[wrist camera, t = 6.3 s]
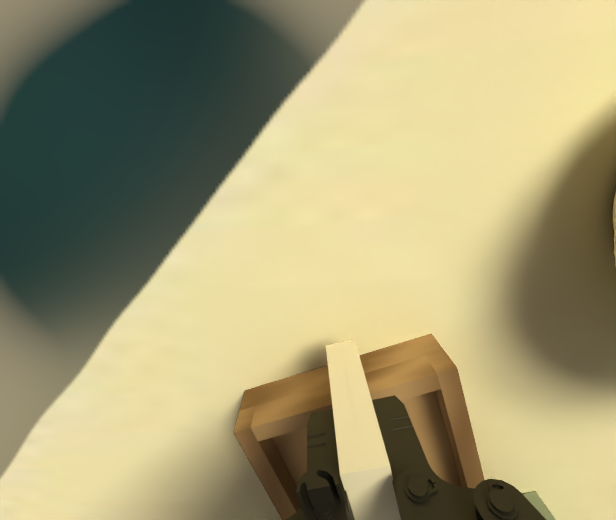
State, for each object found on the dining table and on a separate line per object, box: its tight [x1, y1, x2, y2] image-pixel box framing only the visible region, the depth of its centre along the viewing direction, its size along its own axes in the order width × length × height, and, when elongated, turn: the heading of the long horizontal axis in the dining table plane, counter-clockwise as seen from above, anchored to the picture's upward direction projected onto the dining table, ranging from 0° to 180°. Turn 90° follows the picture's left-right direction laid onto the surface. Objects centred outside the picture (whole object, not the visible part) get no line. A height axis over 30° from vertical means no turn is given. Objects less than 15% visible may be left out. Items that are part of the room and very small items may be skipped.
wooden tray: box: [234, 334, 484, 520], centre depth 17 cm, size 12×16×7 cm
